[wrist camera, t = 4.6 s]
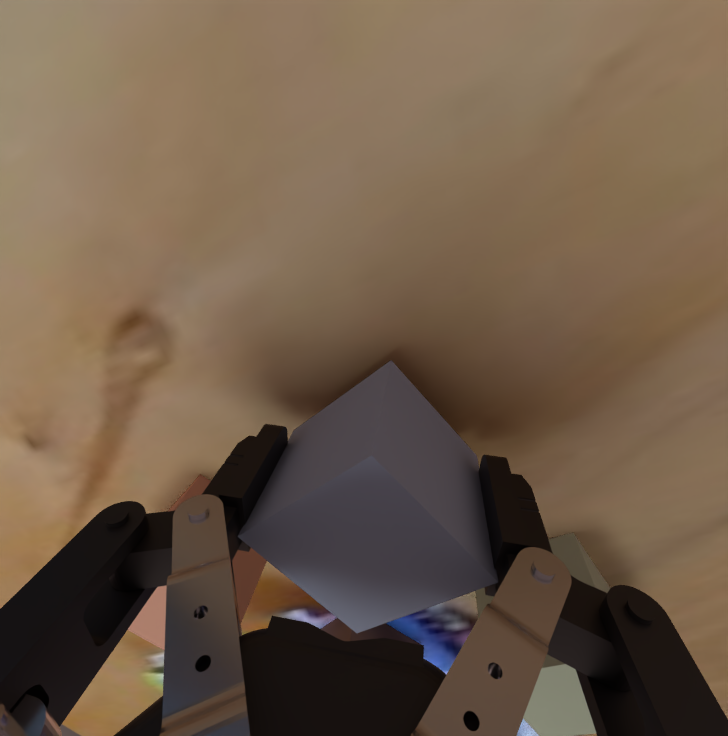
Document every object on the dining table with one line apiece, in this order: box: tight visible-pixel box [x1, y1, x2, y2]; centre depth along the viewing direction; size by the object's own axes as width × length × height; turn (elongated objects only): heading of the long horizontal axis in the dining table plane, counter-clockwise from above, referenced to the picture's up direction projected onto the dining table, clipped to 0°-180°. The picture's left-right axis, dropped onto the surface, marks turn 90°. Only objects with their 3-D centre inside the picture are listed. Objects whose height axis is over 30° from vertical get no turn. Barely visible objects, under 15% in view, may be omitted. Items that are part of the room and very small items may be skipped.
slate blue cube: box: [237, 361, 498, 633], centre depth 12 cm, size 5×5×5 cm
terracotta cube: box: [128, 474, 267, 650], centre depth 19 cm, size 5×5×5 cm
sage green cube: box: [476, 532, 611, 736], centre depth 17 cm, size 5×5×5 cm
